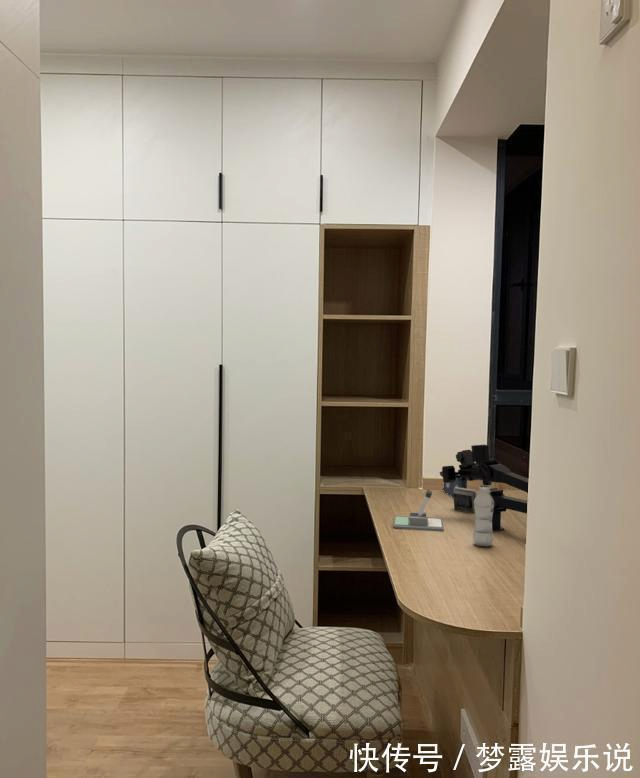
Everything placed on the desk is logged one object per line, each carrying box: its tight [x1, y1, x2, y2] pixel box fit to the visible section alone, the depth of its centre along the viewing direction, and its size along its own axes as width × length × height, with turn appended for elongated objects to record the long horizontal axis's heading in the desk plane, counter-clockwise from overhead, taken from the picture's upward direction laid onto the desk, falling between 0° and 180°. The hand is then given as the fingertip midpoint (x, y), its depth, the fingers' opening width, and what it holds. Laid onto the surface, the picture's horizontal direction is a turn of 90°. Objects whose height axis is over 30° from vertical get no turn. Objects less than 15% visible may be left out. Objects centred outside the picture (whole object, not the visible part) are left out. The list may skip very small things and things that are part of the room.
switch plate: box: [392, 510, 445, 532], centre depth 230 cm, size 18×14×4 cm
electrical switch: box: [452, 487, 478, 514], centre depth 248 cm, size 9×5×9 cm, turn 57°
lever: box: [417, 489, 433, 517], centre depth 229 cm, size 2×4×12 cm, turn 172°
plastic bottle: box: [472, 484, 494, 547], centre depth 206 cm, size 6×7×20 cm
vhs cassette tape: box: [442, 478, 468, 498], centre depth 271 cm, size 18×3×10 cm, turn 12°
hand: (449, 472), depth 246 cm, fingers open, 9 cm apart
